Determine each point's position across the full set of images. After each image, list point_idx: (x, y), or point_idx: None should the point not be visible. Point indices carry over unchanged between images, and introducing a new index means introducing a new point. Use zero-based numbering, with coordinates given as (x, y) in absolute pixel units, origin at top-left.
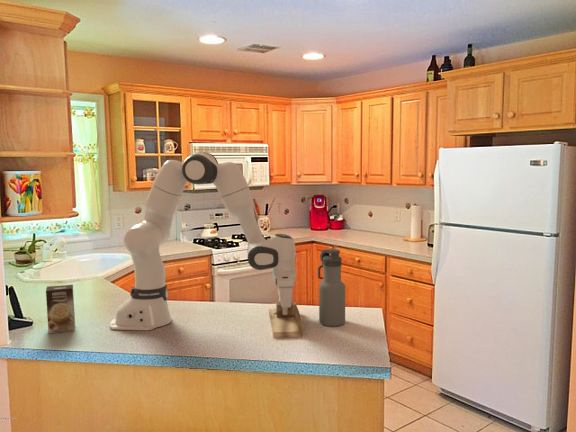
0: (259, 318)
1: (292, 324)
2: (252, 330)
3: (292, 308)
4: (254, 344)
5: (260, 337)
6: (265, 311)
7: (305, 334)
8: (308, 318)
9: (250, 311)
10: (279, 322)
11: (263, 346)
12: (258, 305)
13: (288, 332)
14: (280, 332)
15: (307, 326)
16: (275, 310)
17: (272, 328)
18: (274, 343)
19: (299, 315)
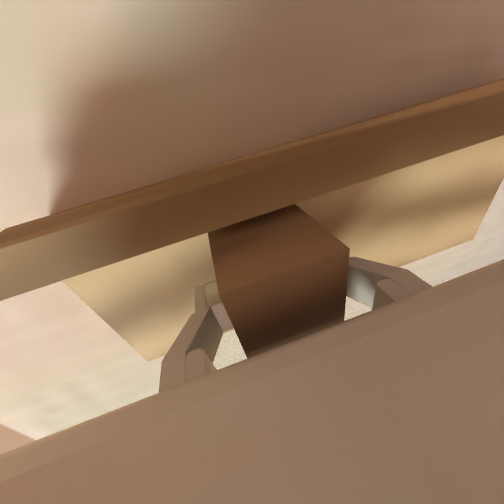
0: (228, 340)
1: (418, 168)
2: (354, 311)
3: (319, 228)
4: (466, 265)
5: (422, 269)
6: (117, 360)
7: (486, 55)
8: (146, 45)
9: (147, 394)
10: (366, 249)
11: (496, 236)
12: (33, 413)
13: (502, 169)
14: (484, 209)
15: (355, 46)
16: (162, 330)
17: (429, 255)
18: (495, 209)
19: (438, 122)
